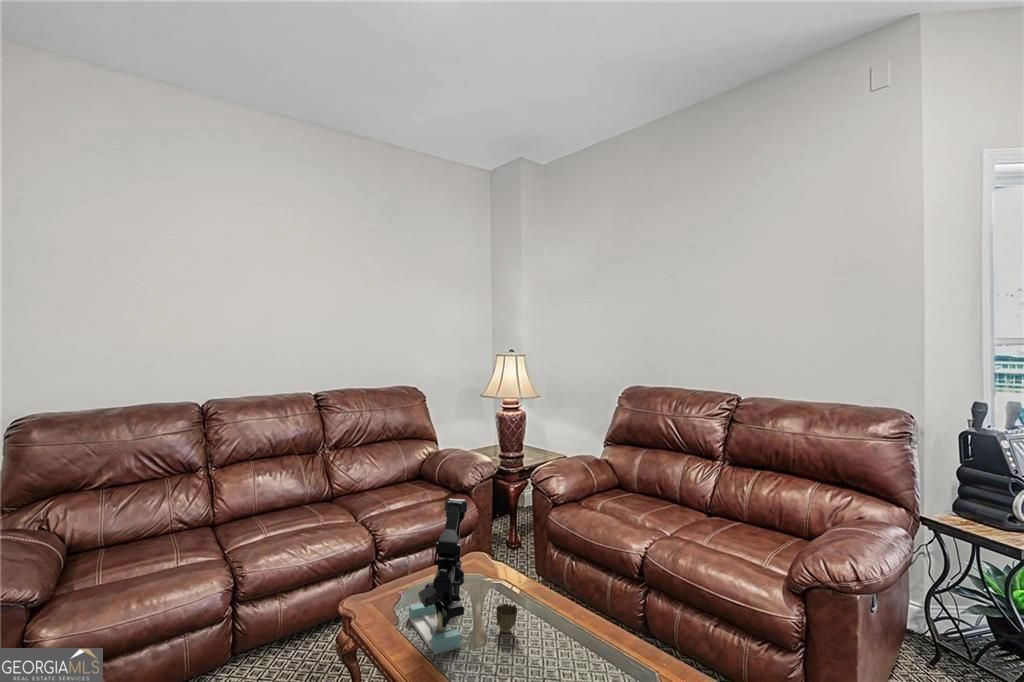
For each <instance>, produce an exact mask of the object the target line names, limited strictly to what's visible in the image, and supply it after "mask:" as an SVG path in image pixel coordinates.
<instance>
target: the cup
mask: <svg viewBox="0 0 1024 682" xmlns="http://www.w3.org/2000/svg"><path fill="white" fill-rule="evenodd" d="M495 610H496V622H497V625H498V627H499V629H500V632H501V633H503V634H509V633H510V632H511V630H512V628H514V626H515V625H516V621H517V616H518V607H516V605H515V604H511V603H510V604H508V603H503V604H500V605H498V604H497V605H496V609H495Z"/></svg>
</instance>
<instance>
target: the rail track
mask: <svg viewBox="0 0 1024 682" xmlns="http://www.w3.org/2000/svg"><path fill="white" fill-rule="evenodd" d="M407 617H408V618H407V619H408V620H409V621H410V623H411V624H412V626H413V627H414V628H415V629H416V631H417V633H419V635H420V637H421V638H422V639H423V640H424V642H425V644H426V645H427V646H428V648H429V649H430V651H431V652H432V653H433V655H434V656H435V655H438V654H443V653H446V652H449V651H453V650H457V649H460V648H461V643H462V641H461V640H462V634H461V633H462V632H460V630H459V629H453V631H449V632H445V633H441V634H437V635H433V636H432V635H431V633H430V627H432V626H436V625H437V622H438V619H437V614H436V609H435V605H434V604H433V605H432V606H428V607H424V605H423V604H422V603H421V602H419V603H416V604H411V605H409V607H408V616H407Z"/></svg>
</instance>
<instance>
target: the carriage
mask: <svg viewBox="0 0 1024 682" xmlns="http://www.w3.org/2000/svg"><path fill="white" fill-rule="evenodd" d="M453 630H454V629H453V628H452V627H451V626H450V625H449V623H448V624H447V626H446V627H444V628H443V627H442V614H441V613H440V612H438V622H437V625H436V626H432V627H430V633H431V635H432V636H433V635H437V634H441V633H445V632H449V631H453Z"/></svg>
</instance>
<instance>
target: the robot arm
mask: <svg viewBox="0 0 1024 682" xmlns="http://www.w3.org/2000/svg"><path fill="white" fill-rule="evenodd" d="M468 504H469V503H468V502H467V500H466V499H465V498H451V497H450V498H448V499H447V500H445V501H444V506H443V507H444V509H443V512H445V518H446V520H445V521H446V522H445V525H444V531H443V533H441V534H440V535H439V537H438V538H439V539H438V541H437V542H436V543H435V551H434V559H433V566H437V570H436V572H435V575H434V579H433V582H430V583H426V585H425V586H424V588H423V589H422V590H420V591H419V592H417V594H418V597H419V601H420V603H422V604H423V605H424V607H428V606H432V605H433V604H434V605H435V609H436V615H437V619H438V612H440V613H441V614H442V627H443V628H444V627H446V626H447V624H448V625H449V622H450V620H451V619H452V618H457V617H461V616H464V614H465V607H464V605H462V604H461V603H460V601H461V599H462V598H461V597H460V592H461V591H460V587H461V586H462V584H463V585H464V583H465V572H464V569H463V568H462V561H461V554H462V547H461V545H460V535H461V524H462V522H463V520H464V519H465V517H466V513H468V508H469V507H468V506H469V505H468Z"/></svg>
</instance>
